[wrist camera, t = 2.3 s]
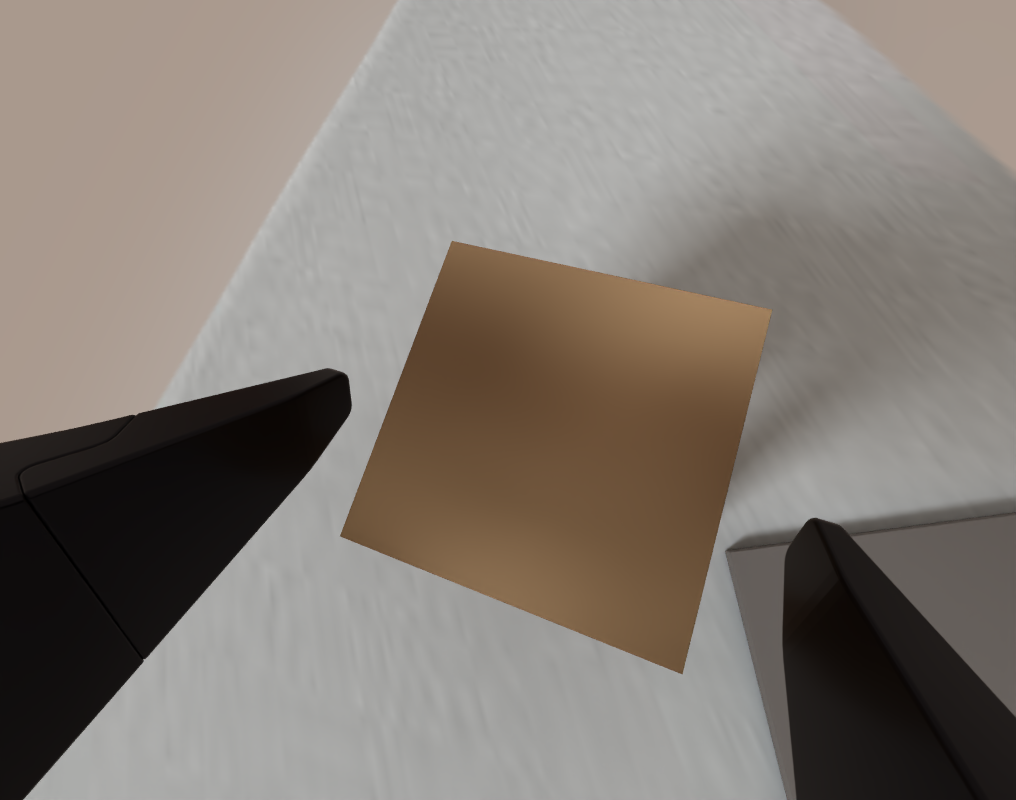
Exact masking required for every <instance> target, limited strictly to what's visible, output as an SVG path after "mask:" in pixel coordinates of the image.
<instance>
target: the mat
mask: <svg viewBox="0 0 1016 800" xmlns="http://www.w3.org/2000/svg"><path fill="white" fill-rule="evenodd" d="M849 535H850V536H851V537H852V538H853V540H854V541H855V542H856V543H857V544H858V545H859V546H860V547H861V548H862V549H863V550H864V552H865V553H866V554H867V555H868V556H869V557H870V558H871V559H872V560H873V561H874V562H875V564H876V565H877V566H878V567H879V568H880V569H881V570H882V571H883V572H884V573H885V574H886V576H887V577H888V578H889V579H890V580H891V581H892V582H893V583H894V584H895V585H896V587H897V588H898V589H899V590H900V591H901V592H902V593H903V594H904V595H905V596H906V597H907V599H908V600H909V601H910V602H911V603H912V604H913V605H914V606H915V607H916V608H917V609H918V611H919V612H920V613H921V614H922V615H923V616H924V617H925V618H926V619H927V620H928V621H929V623H930V624H931V625H932V626H933V627H934V628H935V629H936V630H937V631H938V632H939V633H940V635H941V636H942V637H943V638H944V639H945V640H946V641H947V642H948V643H949V644H950V646H951V647H952V648H953V649H954V650H955V651H956V652H957V653H958V654H959V655H960V656H961V658H962V659H963V660H964V661H965V662H966V663H967V664H968V665H969V666H970V667H971V668H972V670H973V671H974V672H975V673H976V674H977V675H978V676H979V677H980V678H981V679H982V680H983V682H984V683H985V684H986V685H987V686H988V687H989V688H990V689H991V690H992V691H993V692H994V694H995V695H996V696H997V697H998V698H999V699H1000V700H1001V701H1002V702H1003V703H1004V705H1005V706H1006V707H1007V708H1008V709H1009V710H1010V711H1011V712H1012V713H1013V714H1014V715H1015V717H1016V513H1008V514H1000V515H993V516H985V517H978V518H970V519H963V520H955V521H947V522H940V523H932V524H925V525H917V526H909V527H902V528H894V529H887V530H879V531H872V532H864V533H856V534H849ZM791 543H792V542H788V543H780V544H773V545H765V546H758V547H750V548H743V549H735V550H727V551H725V552H726V556H727V560H728V564H729V568H730V572H731V576H732V580H733V584H734V588H735V592H736V596H737V600H738V604H739V608H740V612H741V616H742V620H743V624H744V628H745V632H746V636H747V640H748V644H749V648H750V652H751V656H752V660H753V664H754V668H755V672H756V676H757V680H758V684H759V688H760V692H761V696H762V700H763V704H764V708H765V712H766V716H767V720H768V724H769V728H770V732H771V736H772V740H773V744H774V748H775V752H776V756H777V760H778V764H779V768H780V772H781V776H782V780H783V784H784V788H785V792H786V796H787V800H796V791H795V780H794V770H793V759H792V749H791V738H790V727H789V717H788V706H787V695H786V685H785V674H784V664H783V650H782V621H783V590H784V561H785V555H786V551H787V549H788V547H789V546H790V544H791Z"/></svg>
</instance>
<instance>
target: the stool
mask: <svg viewBox="0 0 1016 800" xmlns="http://www.w3.org/2000/svg"><path fill="white" fill-rule="evenodd" d="M771 312H772V310H771V309H766V308H762V307H757V306H752V305H748V304H743V303H738V302H734V301H729V300H724V299H720V298H715V297H710V296H706V295H701V294H696V293H692V292H687V291H682V290H678V289H673V288H668V287H664V286H659V285H655V284H650V283H645V282H641V281H636V280H631V279H627V278H622V277H617V276H613V275H608V274H603V273H599V272H594V271H589V270H585V269H580V268H575V267H571V266H566V265H561V264H557V263H552V262H548V261H543V260H538V259H534V258H529V257H524V256H520V255H515V254H510V253H506V252H501V251H496V250H492V249H487V248H482V247H478V246H473V245H468V244H464V243H459V242H454V241H452V242H451V245H450V247H449V250H448V253H447V255H446V258H445V260H444V263H443V266H442V268H441V271H440V274H439V276H438V279H437V282H436V284H435V287H434V290H433V292H432V295H431V297H430V300H429V303H428V305H427V308H426V311H425V313H424V316H423V319H422V321H421V324H420V326H419V329H418V332H417V334H416V337H415V340H414V342H413V345H412V348H411V350H410V353H409V356H408V358H407V361H406V363H405V366H404V369H403V371H402V374H401V377H400V379H399V382H398V385H397V387H396V390H395V392H394V395H393V398H392V400H391V403H390V406H389V408H388V411H387V414H386V416H385V419H384V422H383V424H382V427H381V429H380V432H379V435H378V437H377V440H376V443H375V445H374V448H373V451H372V453H371V456H370V458H369V461H368V464H367V466H366V469H365V472H364V474H363V477H362V480H361V482H360V485H359V488H358V490H357V493H356V495H355V498H354V501H353V503H352V506H351V509H350V511H349V514H348V517H347V519H346V522H345V524H344V527H343V530H342V532H341V535H340V536H341V537H343V538H346V539H348V540H351V541H353V542H355V543H358V544H360V545H363V546H365V547H368V548H370V549H373V550H375V551H378V552H380V553H383V554H385V555H388V556H390V557H393V558H395V559H398V560H400V561H403V562H405V563H408V564H410V565H413V566H415V567H417V568H420V569H422V570H425V571H427V572H430V573H432V574H435V575H437V576H440V577H442V578H445V579H447V580H450V581H452V582H455V583H457V584H460V585H462V586H465V587H467V588H470V589H472V590H474V591H477V592H479V593H482V594H484V595H487V596H489V597H492V598H494V599H497V600H499V601H502V602H504V603H507V604H509V605H512V606H514V607H517V608H519V609H522V610H524V611H527V612H529V613H531V614H534V615H536V616H539V617H541V618H544V619H546V620H549V621H551V622H554V623H556V624H559V625H561V626H564V627H566V628H569V629H571V630H574V631H576V632H579V633H581V634H584V635H586V636H588V637H591V638H593V639H596V640H598V641H601V642H603V643H606V644H608V645H611V646H613V647H616V648H618V649H621V650H623V651H626V652H628V653H631V654H633V655H636V656H638V657H641V658H643V659H645V660H648V661H650V662H653V663H655V664H658V665H660V666H663V667H665V668H668V669H670V670H673V671H675V672H678V673H680V674H683V670H684V665H685V661H686V657H687V653H688V649H689V645H690V641H691V637H692V633H693V629H694V625H695V621H696V617H697V613H698V609H699V605H700V601H701V596H702V592H703V588H704V584H705V580H706V576H707V572H708V568H709V564H710V560H711V556H712V552H713V548H714V544H715V540H716V536H717V532H718V528H719V523H720V519H721V515H722V511H723V507H724V503H725V499H726V495H727V491H728V487H729V483H730V479H731V475H732V471H733V467H734V463H735V459H736V454H737V450H738V446H739V442H740V438H741V434H742V430H743V426H744V422H745V418H746V414H747V410H748V406H749V402H750V398H751V394H752V390H753V385H754V381H755V377H756V373H757V369H758V365H759V361H760V357H761V353H762V349H763V345H764V341H765V337H766V333H767V329H768V325H769V321H770V317H771Z"/></svg>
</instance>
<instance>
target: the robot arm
mask: <svg viewBox="0 0 1016 800" xmlns="http://www.w3.org/2000/svg"><path fill="white" fill-rule="evenodd" d="M351 407H352V402H351V394H350V385H349V379H348V376H347V375H346V374H345V373H343V372H340V371H337V370H334V369H330V368H326V369H322V370H318V371H314V372H309V373H305V374H301V375H297V376H293V377H288V378H284V379H280V380H276V381H272V382H268V383H263V384H259V385H255V386H251V387H247V388H243V389H238V390H234V391H230V392H226V393H222V394H218V395H213V396H209V397H205V398H201V399H197V400H193V401H188V402H184V403H180V404H176V405H172V406H168V407H163V408H159V409H155V410H151V411H147V412H142V413H139V414H137V415H136V416H135V415H129V416H126V417H121V418H117V419H113V420H109V421H105V422H100V423H95V424H91V425H87V426H83V427H78V428H74V429H69V430H64V431H59V432H54V433H49V434H44V435H39V436H34V437H29V438H24V439H19V440H14V441H9V442H4V443H0V800H23V799H24V798H25V797H26V796H27V795H28V794H29V793H30V792H31V790H32V789H33V788H34V787H35V786H36V785H37V783H38V782H39V781H40V780H41V779H42V778H43V777H44V775H45V774H46V773H47V772H48V771H49V770H50V769H51V767H52V766H53V765H54V764H55V763H56V762H57V761H58V759H59V758H60V757H61V756H62V755H63V754H64V753H65V751H66V750H67V749H68V748H69V747H70V746H71V744H72V743H73V742H74V741H75V740H76V739H77V738H78V736H79V735H80V734H81V733H82V732H83V731H84V730H85V728H86V727H87V726H88V725H89V724H90V723H91V722H92V720H93V719H94V718H95V717H96V716H97V715H98V713H99V712H100V711H101V710H102V709H103V708H104V707H105V705H106V704H107V703H108V702H109V701H110V700H111V699H112V697H113V696H114V695H115V694H116V693H117V692H118V691H119V689H120V688H121V687H122V686H123V685H124V684H125V683H126V681H127V680H128V679H129V678H130V677H131V676H132V674H133V673H134V672H135V671H136V670H137V669H138V668H139V666H140V665H141V664H142V663H143V661H144V660H143V659H146V658H147V657H148V656H149V655H150V653H151V652H152V651H153V650H154V649H155V648H156V647H157V645H158V644H159V643H160V642H161V641H162V640H163V639H164V637H165V636H166V635H167V634H168V633H169V632H170V631H171V629H172V628H173V627H174V626H175V625H176V624H177V622H178V621H179V620H180V619H181V618H182V617H183V616H184V614H185V613H186V612H187V611H188V610H189V609H190V608H191V606H192V605H193V604H194V603H195V602H196V601H197V600H198V598H199V597H200V596H201V595H202V594H203V593H204V592H205V590H206V589H207V588H208V587H209V586H210V585H211V584H212V582H213V581H214V580H215V579H216V578H217V577H218V575H219V574H220V573H221V572H222V571H223V570H224V569H225V567H226V566H227V565H228V564H229V563H230V562H231V561H232V559H233V558H234V557H235V556H236V555H237V554H238V553H239V551H240V550H241V549H242V548H243V547H244V546H245V545H246V543H247V542H248V541H249V540H250V539H251V538H252V537H253V535H254V534H255V533H256V532H257V531H258V530H259V528H260V527H261V526H262V525H263V524H264V523H265V522H266V520H267V519H268V518H269V517H270V516H271V515H272V514H273V512H274V511H275V510H276V509H277V508H278V507H279V506H280V504H281V503H282V502H283V501H284V500H285V499H286V498H287V496H288V495H289V494H290V493H291V492H292V491H293V490H294V488H295V487H296V486H297V485H298V484H299V483H300V481H301V480H302V479H303V478H304V477H305V476H306V474H307V473H308V472H309V471H310V470H311V468H312V467H313V466H314V464H315V463H316V462H317V460H318V459H319V457H320V456H321V455H322V453H323V452H324V450H325V449H326V447H327V446H328V445H329V443H330V442H331V440H332V439H333V437H334V436H335V435H336V433H337V432H338V430H339V429H340V428H341V426H342V425H343V423H344V422H345V420H346V419H347V418H348V416H349V414H350V412H351ZM782 650H783V664H784V674H785V685H786V695H787V706H788V717H789V727H790V738H791V749H792V759H793V770H794V780H795V791H796V800H1016V717H1015V715H1014V714H1013V713H1012V712H1011V711H1010V710H1009V709H1008V708H1007V707H1006V706H1005V705H1004V703H1003V702H1002V701H1001V700H1000V699H999V698H998V697H997V696H996V695H995V694H994V692H993V691H992V690H991V689H990V688H989V687H988V686H987V685H986V684H985V683H984V682H983V680H982V679H981V678H980V677H979V676H978V675H977V674H976V673H975V672H974V671H973V670H972V668H971V667H970V666H969V665H968V664H967V663H966V662H965V661H964V660H963V659H962V658H961V656H960V655H959V654H958V653H957V652H956V651H955V650H954V649H953V648H952V647H951V646H950V644H949V643H948V642H947V641H946V640H945V639H944V638H943V637H942V636H941V635H940V633H939V632H938V631H937V630H936V629H935V628H934V627H933V626H932V625H931V624H930V623H929V621H928V620H927V619H926V618H925V617H924V616H923V615H922V614H921V613H920V612H919V611H918V609H917V608H916V607H915V606H914V605H913V604H912V603H911V602H910V601H909V600H908V599H907V597H906V596H905V595H904V594H903V593H902V592H901V591H900V590H899V589H898V588H897V587H896V585H895V584H894V583H893V582H892V581H891V580H890V579H889V578H888V577H887V576H886V574H885V573H884V572H883V571H882V570H881V569H880V568H879V567H878V566H877V565H876V564H875V562H874V561H873V560H872V559H871V558H870V557H869V556H868V555H867V554H866V553H865V552H864V550H863V549H862V548H861V547H860V546H859V545H858V544H857V543H856V542H855V541H854V540H853V538H852V537H851V536H850V535H849V534H848V533H847V532H846V531H845V530H844V529H843V528H842V527H841V526H840V525H838V524H835V523H832V522H828V521H825V520H822V519H818V518H811V519H809V520H808V521H807V522H806V523H805V525H804V526H803V527H802V529H801V530H800V532H799V533H798V534H797V536H796V537H795V539H794V540H793V541H792V543H791V544H790V546H789V547H788V549H787V551H786V555H785V561H784V590H783V621H782Z"/></svg>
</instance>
